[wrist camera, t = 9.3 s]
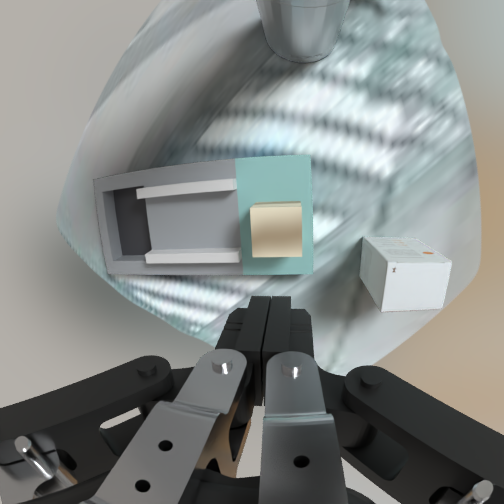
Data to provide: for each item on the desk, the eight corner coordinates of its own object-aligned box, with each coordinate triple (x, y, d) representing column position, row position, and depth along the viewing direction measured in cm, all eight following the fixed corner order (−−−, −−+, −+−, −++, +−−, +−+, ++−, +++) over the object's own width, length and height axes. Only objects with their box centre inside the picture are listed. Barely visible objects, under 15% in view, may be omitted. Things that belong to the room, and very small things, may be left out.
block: (256, 202, 32) (249, 208, 28) (300, 200, 32) (301, 206, 27) (258, 244, 34) (252, 257, 29) (301, 243, 33) (302, 256, 28)
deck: (105, 177, 37) (84, 180, 32) (308, 155, 33) (311, 153, 28) (118, 267, 41) (100, 278, 36) (311, 265, 37) (314, 280, 32)
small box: (358, 275, 36) (378, 313, 26) (361, 235, 35) (386, 260, 25) (411, 276, 35) (442, 310, 25) (416, 236, 33) (453, 261, 24)
